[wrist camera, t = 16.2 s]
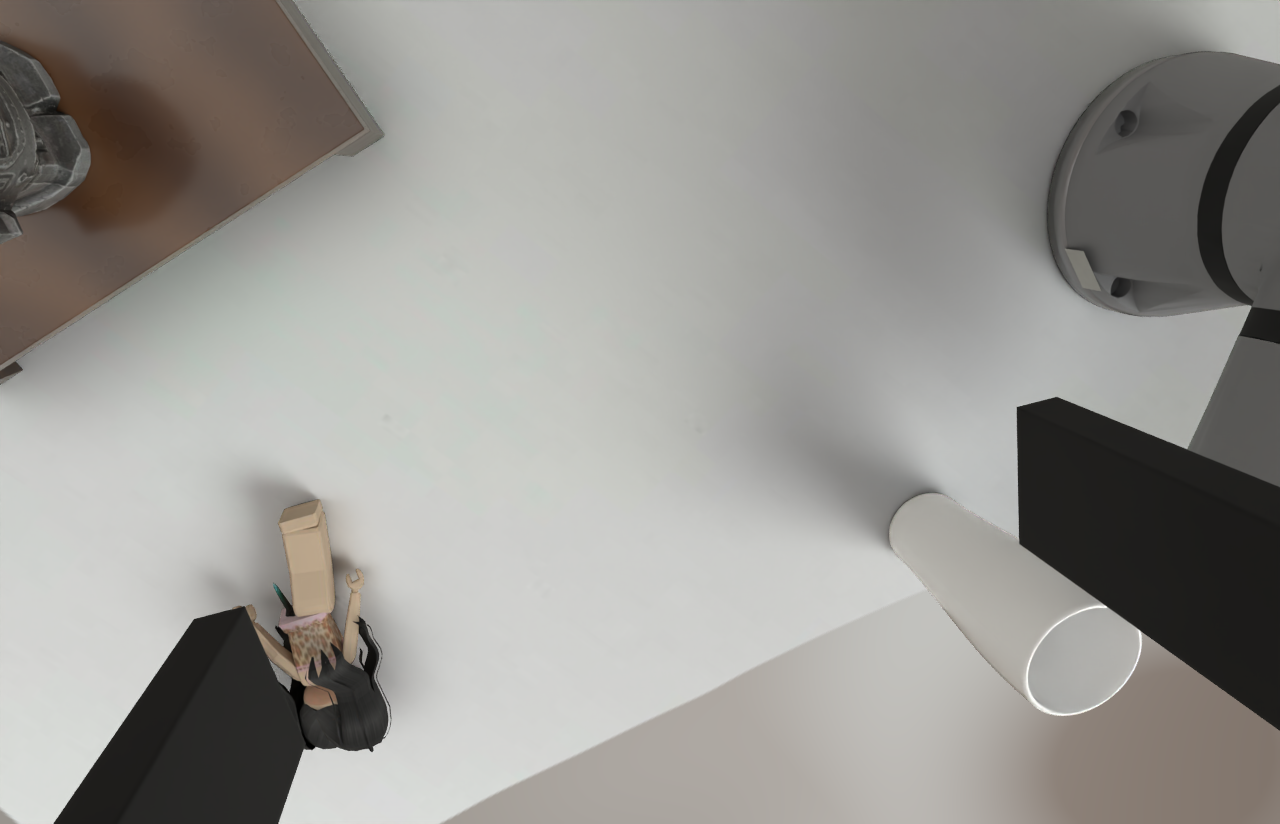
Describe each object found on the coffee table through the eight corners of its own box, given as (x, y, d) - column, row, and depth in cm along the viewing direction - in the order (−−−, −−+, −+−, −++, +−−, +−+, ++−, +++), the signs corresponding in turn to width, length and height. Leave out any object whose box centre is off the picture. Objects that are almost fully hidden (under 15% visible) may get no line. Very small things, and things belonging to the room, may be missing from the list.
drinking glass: (856, 526, 49) (998, 666, 35) (935, 460, 49) (1110, 576, 35) (908, 587, 52) (1060, 741, 38) (983, 524, 51) (1166, 657, 37)
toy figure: (210, 523, 42) (297, 736, 46) (177, 570, 36) (280, 809, 40) (340, 487, 44) (412, 696, 48) (328, 527, 38) (411, 761, 42)
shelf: (184, -158, 32) (117, -228, 27) (385, 135, 37) (364, 129, 32) (-267, 139, 33) (-427, 132, 27) (-9, 390, 38) (-99, 429, 32)
